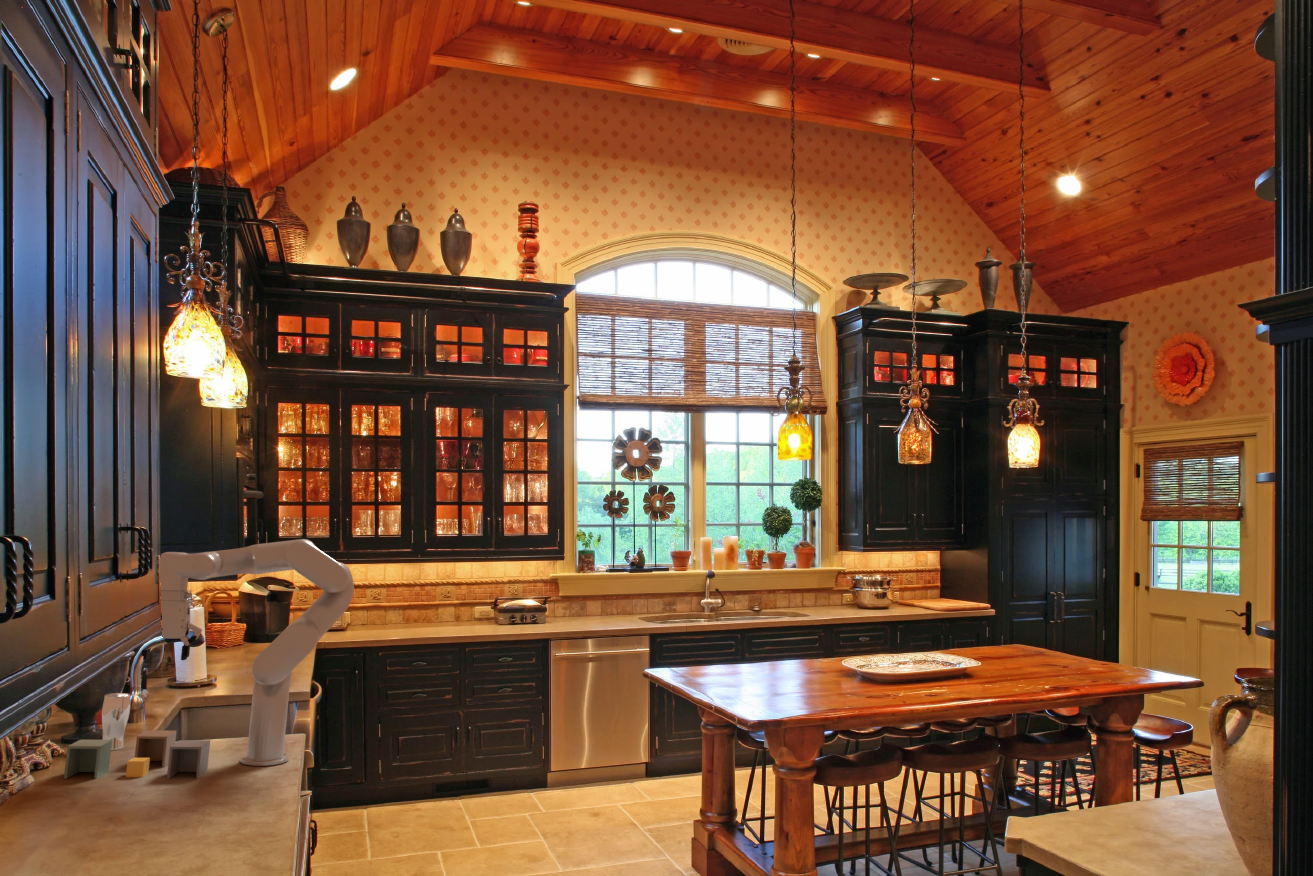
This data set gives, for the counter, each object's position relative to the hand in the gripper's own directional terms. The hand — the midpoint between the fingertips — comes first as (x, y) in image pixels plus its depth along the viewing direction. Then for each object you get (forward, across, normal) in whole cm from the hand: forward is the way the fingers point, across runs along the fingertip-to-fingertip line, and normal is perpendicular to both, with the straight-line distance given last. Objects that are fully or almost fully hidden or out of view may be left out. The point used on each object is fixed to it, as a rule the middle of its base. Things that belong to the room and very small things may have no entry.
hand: (165, 659), depth 252 cm
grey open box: (+28, -12, +12) cm, 33 cm away
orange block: (+28, 0, +12) cm, 30 cm away
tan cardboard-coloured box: (+28, 0, 0) cm, 28 cm away
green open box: (+28, +12, +12) cm, 33 cm away
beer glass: (+28, +17, -18) cm, 37 cm away
